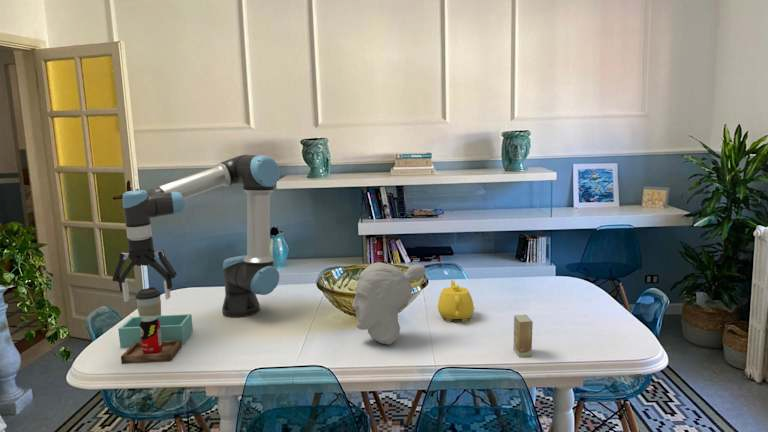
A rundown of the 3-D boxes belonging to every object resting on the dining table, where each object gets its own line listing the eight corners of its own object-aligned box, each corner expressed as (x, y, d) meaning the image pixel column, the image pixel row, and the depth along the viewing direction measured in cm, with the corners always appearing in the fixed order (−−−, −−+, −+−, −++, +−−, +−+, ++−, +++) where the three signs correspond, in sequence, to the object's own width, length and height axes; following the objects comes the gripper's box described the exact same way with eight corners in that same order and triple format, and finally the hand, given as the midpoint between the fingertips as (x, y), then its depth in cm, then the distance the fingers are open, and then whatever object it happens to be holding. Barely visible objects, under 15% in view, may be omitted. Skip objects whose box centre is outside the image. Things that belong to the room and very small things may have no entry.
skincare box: (512, 349, 187) (513, 314, 185) (525, 348, 187) (526, 313, 185) (519, 357, 180) (519, 321, 178) (532, 356, 181) (532, 320, 179)
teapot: (439, 325, 210) (439, 293, 208) (436, 308, 230) (435, 278, 227) (476, 325, 209) (476, 292, 207) (469, 307, 229) (469, 277, 227)
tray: (181, 346, 198) (181, 339, 197) (170, 361, 186) (170, 354, 186) (135, 348, 197) (134, 342, 197) (121, 363, 185) (120, 356, 185)
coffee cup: (155, 331, 213) (151, 293, 210) (133, 330, 215) (129, 292, 212) (168, 323, 222) (164, 286, 219) (148, 322, 223) (144, 285, 221)
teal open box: (193, 331, 212) (191, 314, 210) (183, 344, 200) (181, 325, 198) (133, 334, 210) (131, 316, 209) (120, 347, 199) (118, 328, 197)
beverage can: (147, 348, 195) (144, 315, 192) (165, 348, 194) (162, 315, 192) (139, 356, 188) (135, 322, 186) (157, 355, 188) (154, 321, 186)
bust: (351, 335, 203) (348, 260, 198) (421, 328, 207) (420, 255, 203) (356, 351, 189) (352, 271, 184) (431, 344, 193) (430, 265, 188)
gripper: (181, 233, 189) (188, 293, 193) (106, 237, 187) (114, 297, 191) (174, 238, 181) (181, 300, 185) (96, 242, 180) (104, 305, 184)
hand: (147, 299), depth 188 cm, fingers open, 13 cm apart
